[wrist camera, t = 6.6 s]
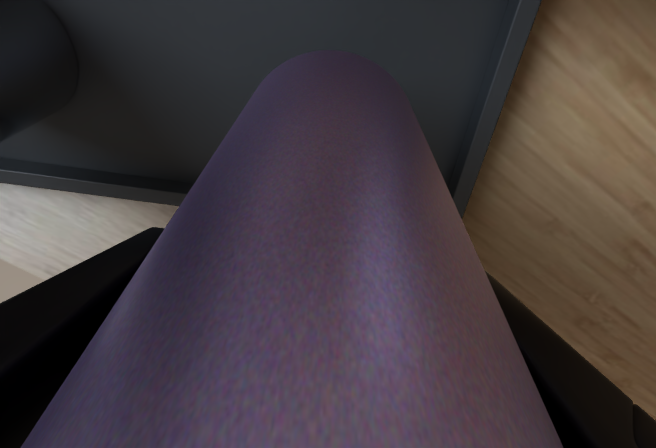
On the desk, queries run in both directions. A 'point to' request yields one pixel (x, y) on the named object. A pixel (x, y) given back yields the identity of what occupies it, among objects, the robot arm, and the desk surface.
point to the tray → (256, 83)
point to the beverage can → (308, 295)
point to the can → (33, 65)
